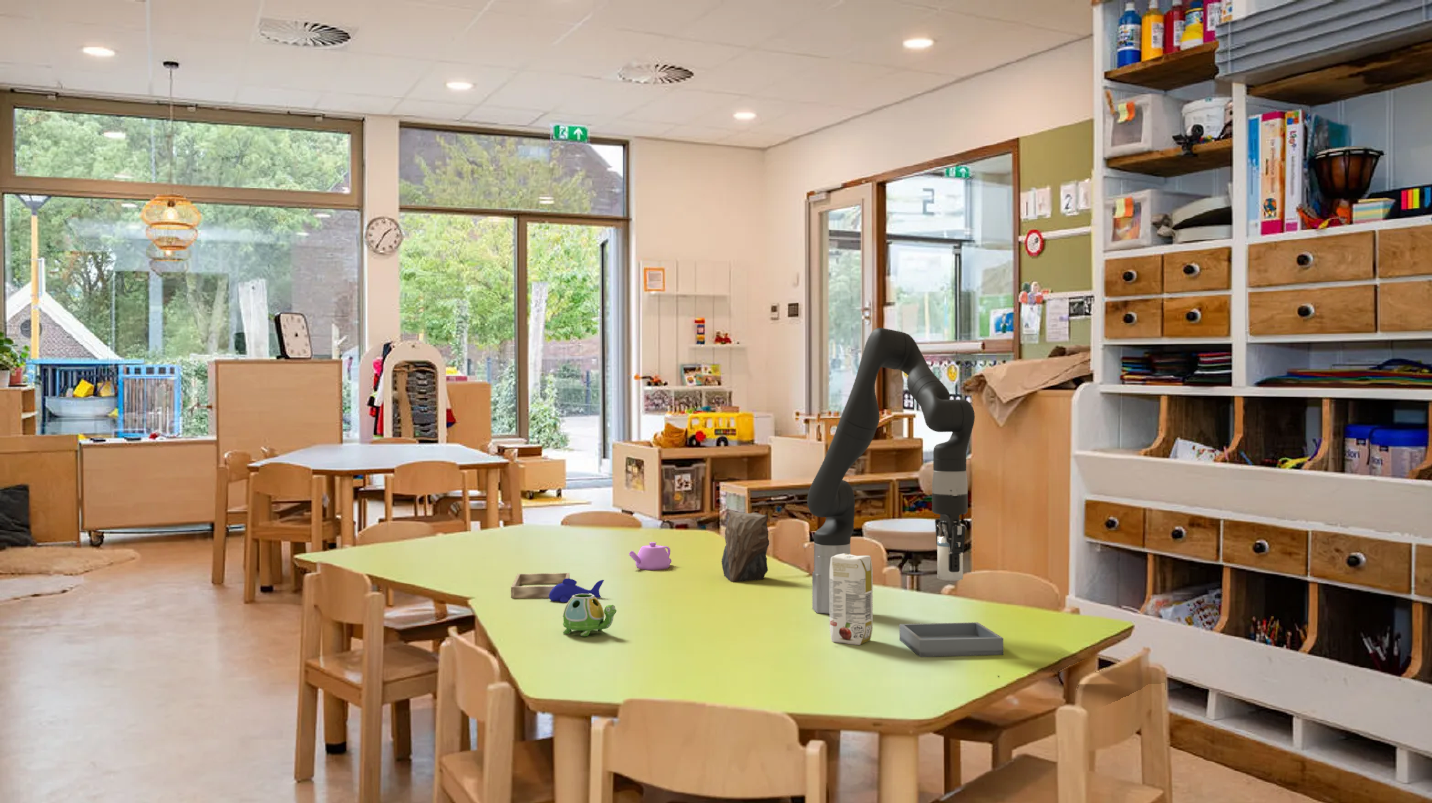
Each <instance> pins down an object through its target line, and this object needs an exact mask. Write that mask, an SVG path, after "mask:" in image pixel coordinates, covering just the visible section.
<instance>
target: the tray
mask: <svg viewBox="0 0 1432 803" xmlns="http://www.w3.org/2000/svg"><path fill="white" fill-rule="evenodd" d="M899 641H900V642H901V643H903V644H904V645H905V646H906V647H908V648H909V650H911V651H912V652H913V653H915V655H917V656H918V657H920V658H930V657H932V658H933V657H936V658H937V657H963V656H964V657H965V656H966V657H969V656H970V657H973V656H974V657H975V656H1000V655H1001V656H1003V655H1004V637H1003V636H1001V635H1000V634H997V633H996V632H994V631H993V630H991V629H989V628H988V627H986V626H985V625H982V624H981V623H979V622H977V621H975V622H974V621H973V622H941V623H939V622H937V623H935V622H933V623H899Z"/></svg>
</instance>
